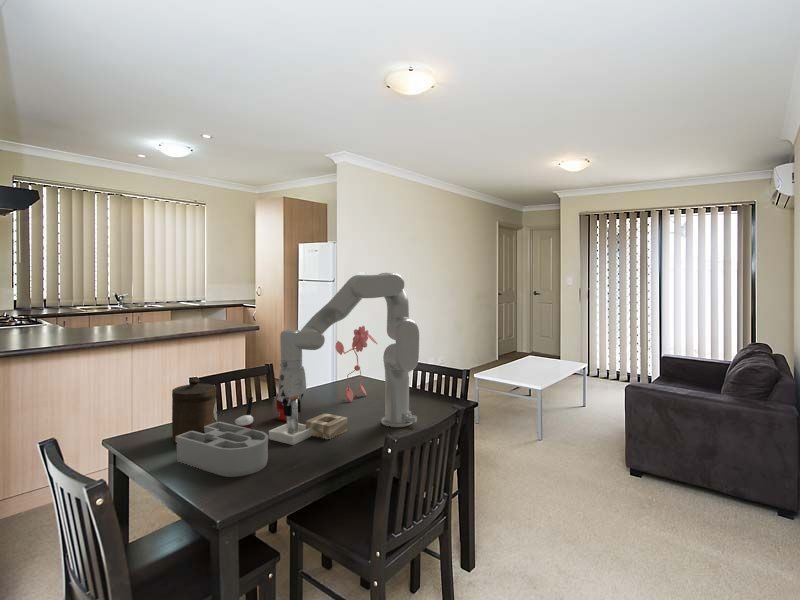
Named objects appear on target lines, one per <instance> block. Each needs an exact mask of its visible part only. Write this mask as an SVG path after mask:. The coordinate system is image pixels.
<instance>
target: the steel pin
mask: <svg viewBox="0 0 800 600" xmlns="http://www.w3.org/2000/svg"><path fill="white" fill-rule="evenodd" d="M298 398H299V395H297V396H295V397H292V398H291V402H290V405H291V406H292V415H291V416H290V417H289V416H287V421H286V424H287V433H289V434H294V433H297V432H298V423H299V413H298ZM286 400H287V398H286Z"/></svg>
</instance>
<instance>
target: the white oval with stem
mask: <svg viewBox="0 0 800 600" xmlns="http://www.w3.org/2000/svg"><path fill="white" fill-rule="evenodd" d="M253 400H254V397H253V396H249V397H248V402H247V406H246V407H247V409H246V414H245V415H240V416H239V417H238V418H236V419H235V421H234V425H236V426H241V427H245V428H249V429H253V427H254V425H253V424H254V417H253V416H252V414H251V411H252V405H253V402H254V401H253Z"/></svg>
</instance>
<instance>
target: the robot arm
mask: <svg viewBox="0 0 800 600" xmlns="http://www.w3.org/2000/svg"><path fill="white" fill-rule="evenodd" d="M377 298H383V299H385V303H386V309H387V310H386V313H387V314H386V334H387V336H388V337H389V338H390V339H391V340H394V341H395V343H391V344H389V345H388V346H387V347H385V349H384V351H383V366H384V367H383V368H384V378H385V379H384V382H385V383H384V385H385V386H384V400H385V401H384V403H385V404H384V408H385V409H384V415H385V416H383V417H382V418H381V421H380V423H381V424H382V425H383V426H386V427H389V426H390V427H389V428H404V427H409V426H411V425H413V423H417V422H418V416H417V415H412V411H411V410H410V374H409V373H410V372H412V371H413V370H415V369H416V368H417V366H418V364H419V360H420V359H419V358H420V357H419V356H420V328H419V327H418V325H417V323H416V322H415V321H414V320H413V319H411V318H410V312H409V311H410V307H409V299H408V295H407V293H406V291H405V280H404V278H403V277H402V276H401V275H400V274H399V273H396V272H381V273H379V274H365V275H364V274H355V275H353V276H352V277H350V278H349V279H348V280H347V281H346V282H345V283H344V285H343V286H342V287H341V288H340V289H339V290H338V291H337V293H335V295H334V296H333V297H332V298H331V299H330V300H329V301H328V302H327V303H326V304H325V305H324V306H322V308H321V309H319V310H318V311H317V312H316V313H315V314H314V315H313V316H312V317H311V318H310V319H309V320H308V321H307V322H306V324H305V325H304V326H303V327H302V328H301V330H299V329H285V330H282V331H281V332H280V345H279V347H280V363H279V366H280V369H279V373H278V374H279V375H278V386H277V387H278V389H277V390H278V391H279V394H278V397H277V399H276V401H277V400H279V401H280V402H281V403H282V405H284V415H285V416H289V417H290V416H291V415H292V406H291V405H290V402H291V398H292V397H295V396H297V395H299V398H298V414H300V413H301V411H302V410H301V408H302V407H301V402H302V401H303V397H304V395H305V393H306V392H307V379H306V371H305V367H304V366H303V351H304V350H307V351H316V350H320V349H321V348H322V347H323V346H324V344H325V342H326V341H325V339H326V338H325V335H324V333H325V332H326V331H327V330H328V329H329V328H330V327H331V326H333V325H334V324H335V323H337V322H341V321H342V320H345V318H347V317H348V316H349V314H350V313H351V312H352V311H353V310H354V309H355V307H356V306H357V305H359V303H360V302H361V301H362V300H363V299H377ZM286 398H287V400H286Z"/></svg>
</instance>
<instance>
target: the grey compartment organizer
mask: <svg viewBox="0 0 800 600" xmlns="http://www.w3.org/2000/svg"><path fill="white" fill-rule="evenodd" d="M204 432H205V433H200V432H196V431H189V432H186V433H183V434H180V435H178V436H176V442H177V444H176V460H177V462H178V463H179V462H181V463H180V464H182V463H184V464H183V465H185V464H187V465H186V466H189V465H190V466H189V467H192V466H193V467H192V468H195V467H196V469H198V468H199V470H201V469H202V471H205V472H208V473H210V474H215V475H218V476H222V477H227V478H228V477H230V478H234V477H235V478H237V477H243V476H244V477H245V476H248V475H252V474H254V473H257V472H260V471H261V470H263V469H264V468H265V467H266V466H267V464H268V459H269V449H268V448H269V447H268V444H269V434H267V433H266V432H265V431H262V430H257V429H254V428H252V429H249V428H245V427H241V426H236V425H235V424H231V423H227V422H223V421H217V422H216V423H213V424H210V425H207V426H204Z"/></svg>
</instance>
